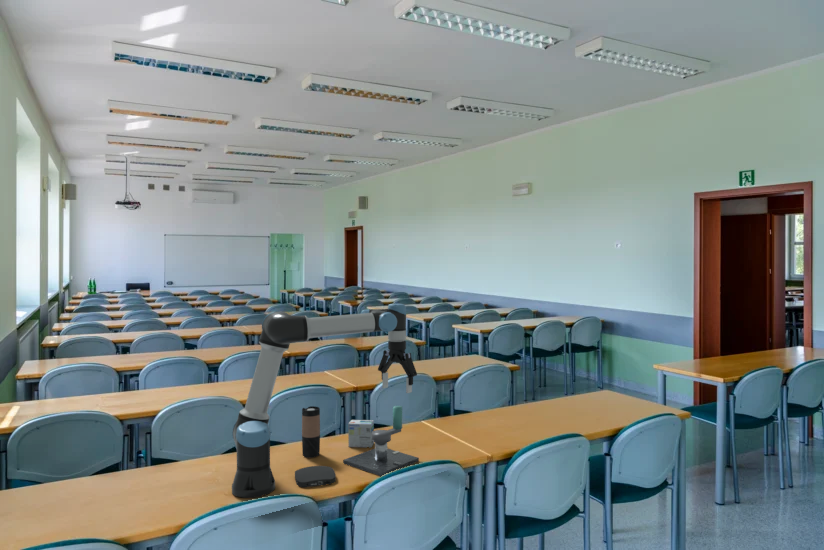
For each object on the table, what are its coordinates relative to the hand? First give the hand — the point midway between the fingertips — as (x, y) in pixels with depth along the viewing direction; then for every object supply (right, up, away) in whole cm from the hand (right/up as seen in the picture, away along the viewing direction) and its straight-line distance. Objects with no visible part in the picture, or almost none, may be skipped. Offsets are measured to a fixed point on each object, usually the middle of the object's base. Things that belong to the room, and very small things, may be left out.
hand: (396, 390), depth 237 cm
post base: (-6, -28, -7) cm, 30 cm away
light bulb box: (-16, -28, +15) cm, 36 cm away
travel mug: (-37, -28, +2) cm, 47 cm away
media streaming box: (-30, -29, -24) cm, 49 cm away
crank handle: (-4, -19, -4) cm, 20 cm away
